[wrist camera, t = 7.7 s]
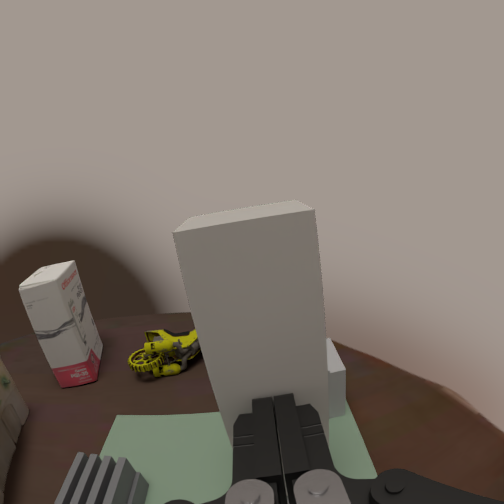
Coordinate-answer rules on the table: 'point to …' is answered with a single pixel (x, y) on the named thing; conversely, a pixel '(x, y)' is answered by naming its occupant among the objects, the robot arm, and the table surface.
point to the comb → (9, 422)
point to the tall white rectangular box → (258, 305)
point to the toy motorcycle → (165, 352)
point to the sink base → (194, 454)
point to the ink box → (63, 323)
